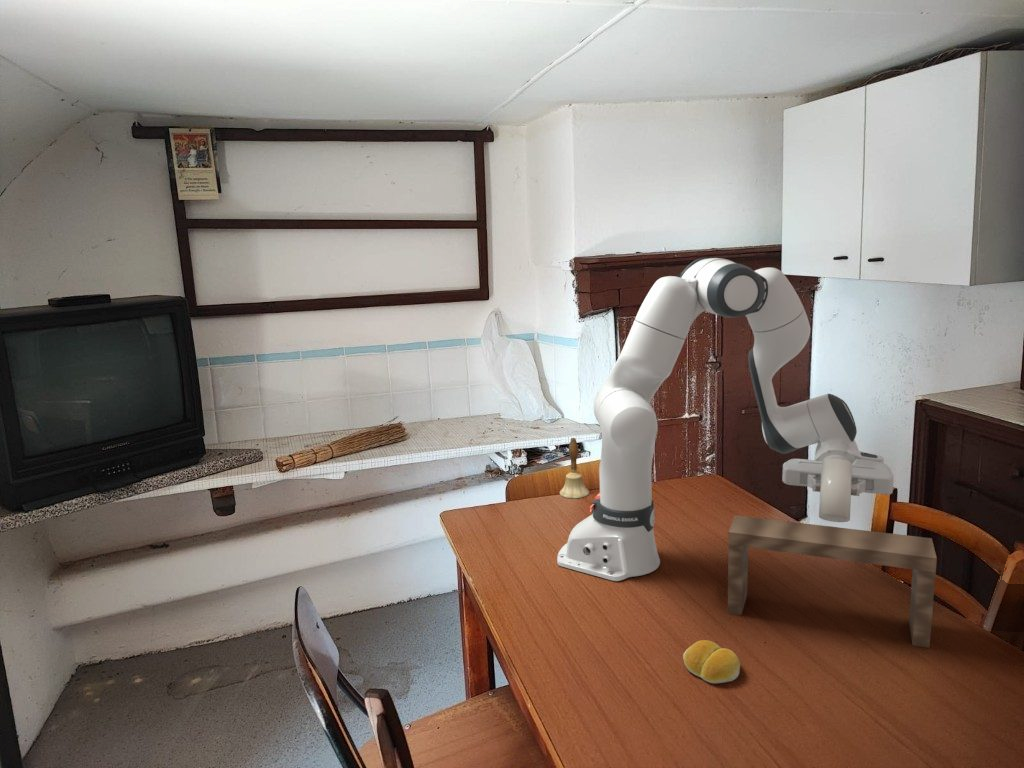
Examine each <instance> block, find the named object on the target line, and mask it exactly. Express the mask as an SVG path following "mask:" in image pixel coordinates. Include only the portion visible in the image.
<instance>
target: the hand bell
mask: <svg viewBox="0 0 1024 768" xmlns="http://www.w3.org/2000/svg"><path fill="white" fill-rule="evenodd" d="M568 454H569V458H570V472H568V473H567V474H566V475H565V481H564V485H563V487H562V488H561V489H560V491H559V495H560V496H561V497H563V498H566V499H581V498H586V497H587V496H589V495H590V491H589V488H587V486H585V483H584V480H583V475H582V473H580V472H578V470H577V469H578V464H577V463H578V462H577V459H578V455H579V446H578V442H577V439H576V438H575V437H571V438H570V442H569V445H568Z"/></svg>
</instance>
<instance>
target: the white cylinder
mask: <svg viewBox="0 0 1024 768" xmlns="http://www.w3.org/2000/svg"><path fill="white" fill-rule="evenodd" d="M851 485H852V463H851V462H849V461H847V460H843V459H836V458H831V459H825V460H823V461H822V470H821V487H820V492H819V503H818V504H819V509H818V518H820V519H822V520H823V521H827V522H834V523H847V522H848V523H849V521H851V506H852V505H851V504H852V502H851V501H852V495H851Z"/></svg>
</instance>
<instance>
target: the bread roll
mask: <svg viewBox="0 0 1024 768" xmlns="http://www.w3.org/2000/svg"><path fill="white" fill-rule="evenodd" d="M682 659H683V662H684V666H685V667H686V669H687V670H688V672H690V673H691V674H693V675H695V677H699V678H701V679H702V680H703V681H706V682H707V683H710V684H724V683H725V684H726V683H730V682H734V680H736V679H737V678H738V677H739V675H740V670H741V663H740V662H741V661H740V659H739V658H738V656H737V654H736V653H735V651H733V650H731V649H729V648H727V647H726V648H725V647H723V648H722V647H721V646H720V645H718V644H717V643H715V642H714V641H712V640H709V639H708V640H707V639H706V640H705V639H701V640H698V641H696V642H694V643H693V644H691V646H689V647H688V648H687V649H685V651H684V652H683V655H682Z"/></svg>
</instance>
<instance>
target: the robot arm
mask: <svg viewBox="0 0 1024 768" xmlns="http://www.w3.org/2000/svg"><path fill="white" fill-rule="evenodd" d="M703 312H706V313H710V314H712V315H716V316H721V317H723V318H729V319H732V318H733V319H735V318H740V317H744V316H745V317H746V319H747V322H748V324H749V326H750V329H751V331H752V334H753V337H754V338H753V340H754V342H753V347H752V348H751V349H750V350H749V352H748V357H747V358H748V367H749V368H748V369H749V372H750V373H749V374H750V377H751V382H752V387H753V391H754V395H755V399H756V403H757V407H758V411H759V415H760V421H761V430H762V435H763V439H764V441H765V443H766V444H767V446H768V448H769V449H771V450H773V451H775V452H777V453H780V454H784V455H786V454H789V453H792V452H794V451H797V450H800V449H801V448H805V447H808V446H811V445H816V444H817V445H816V447H815V453H814V459H806V458H791V459H788V460H787V461H785V462H784V463H783V464H782V480H781V481H782V483H784V484H786V485H789V486H798V487H799V486H800V487H807V488H808V487H809V488H811V489H812V492H817V493H820V487H821V470H822V461H823V460H825V459H831V458H836V459H843V460H847V461H849V462H851V463H852V485H851V496H855V497H860V494H863V493H864V494H865V493H866V494H867V493H868V494H875V495H887V496H888V495H891V494H893V491H894V474H893V472H892V470H891V468H890V467H889V465H888V464H886V463H885V462H884V461H885V458H884V457H883V456H882V455H877V454H873V453H867V452H864V451H860V450H859V447H858V444H857V442H856V440H855V439H856V436H857V431H858V429H857V425H856V422H855V418H854V416H853V414H852V412H851V409H850V407H849V406H848V404H847V402H845V400H843V399H841V398H840V397H839V396H837V395H834V394H832V393H826V394H821V395H818V396H816V397H815V396H814V397H812V398H809V399H807V400H804V401H801V402H798V403H794V404H791V405H788V406H779V405H778V401H777V397H776V394H775V389H774V384H773V381H772V380H773V377H774V376H775V374H776V373H777V372H778V371H779V370H780V369H781V368H782V367H783V366H785V365H786V364H787V363H789V362H790V361H791V360H793V359H794V358H796V357H797V356H798V355H799V354H800V353H801V352H802V350H803V349H804V348H805V347H806V345H807V343H808V342H809V340H810V336H811V326H810V321H809V318H808V315H807V313H806V309H805V307H804V305H803V303H802V301H801V298H800V297H799V295H798V293H797V292H796V290H795V288H794V286H793V285H792V284H791V282H790V281H789V278H787V276H786V275H785V274H784V273H783V272H782V271H781V270H780V269H778V268H776V267H771V266H770V267H768V266H767V267H761V268H758V269H755V270H753V269H752V268H751V267H749V266H747V265H744V264H742V263H738V262H734V261H733V260H730V259H728V258H727V259H726V258H720V257H719V258H718V257H710V256H707V257H706V256H705V257H701V258H698V259H695V260H693V261H692V262H691V263H689V264H688V265H686V267H685V268H684V269H683V271H681V272H680V273H678V274H677V275H676V276H673V275H668V276H663V277H660V278H658V279H657V280H656V281H655V282H654V284H653V285H652V286H651V287H650V289H649V291H648V293H647V294H646V296H645V298H644V300H643V302H642V303H641V305H640V307H639V309H638V311H637V313H636V316H635V318H634V320H633V322H632V323H633V324H632V325H631V328H630V330H629V333H628V335H627V337H626V340H625V343H624V344H623V347H622V350H621V352H620V354H619V355H618V358H617V360H616V362H615V363H614V365H613V367H612V368H611V370H610V371H609V373H608V375H607V376H606V378H605V380H604V382H603V384H602V386H601V388H600V389H599V390H598V392H597V393H596V395H595V398H594V401H593V402H594V403H593V413H594V416H595V419H596V421H597V423H598V425H599V426H600V431H601V432H600V433H601V450H600V451H601V452H600V453H601V454H600V463H599V467H598V473H599V475H598V476H599V478H598V479H599V493H597V494H596V496H595V497H594V500H593V501H592V503H591V505H590V507H589V513H590V514H591V515H589V516H587V517H586V518H583V520H581V521H580V522H578V523H577V524H576V525H575V526H574V527H573V528H572V530H571V531H570V532H569V536H568V539H567V543H565V544H564V545H562V547H561V548H560V550H559V551H558V553H557V557H556V560H557V561H556V562H557V565H558V566H560V567H562V568H566V569H570V570H573V571H577V572H580V573H585V574H587V575H591V576H596V577H598V578H602V579H606V580H609V581H613V582H620V581H623V580H626V579H628V578H632V577H633V578H634V577H639V576H644V575H647V574H650V573H653V572H654V571H656V570H657V569H658V568H659V566H660V564H661V559H660V556H659V554H658V553H659V552H658V549H657V545H656V539H655V533H654V527H655V521H656V520H655V505H654V500H653V498H652V495H653V494H652V491H653V490H652V465H653V459H654V452H655V451H654V450H655V447H656V446H655V444H656V438H657V435H658V431H659V429H658V428H659V427H658V419H657V415H656V412H655V410H654V408H653V406H652V405H651V402H652V399H653V397H654V396H655V394H656V393H657V391H658V390H659V389H660V387H661V385H662V384H663V383H664V381H665V380H666V379H667V378H668V377H670V375H671V374H672V372H673V370H674V368H675V367H674V366H675V365H676V362H677V359H678V358H679V355H680V353H681V352H682V348H683V346H684V344H685V341H686V339H687V336H688V334H689V331H690V329H691V325H692V324H693V323H694V321H695V320H696V318H698V316H700V314H702V313H703Z"/></svg>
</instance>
